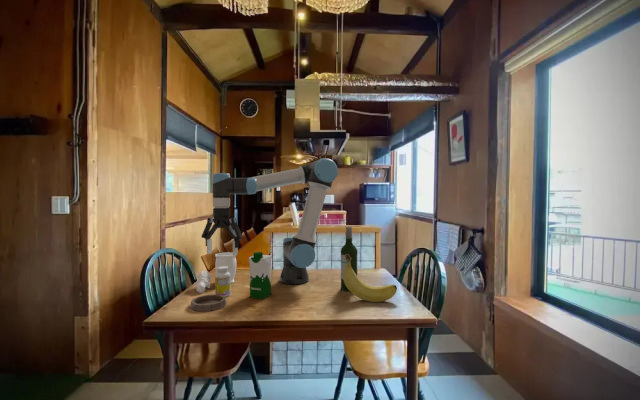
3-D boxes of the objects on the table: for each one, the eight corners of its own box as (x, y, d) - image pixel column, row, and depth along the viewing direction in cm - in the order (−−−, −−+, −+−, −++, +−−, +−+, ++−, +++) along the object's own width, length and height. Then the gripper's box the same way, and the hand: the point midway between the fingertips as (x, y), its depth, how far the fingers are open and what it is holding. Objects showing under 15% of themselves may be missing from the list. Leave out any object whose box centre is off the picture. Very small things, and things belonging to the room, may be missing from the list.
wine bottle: (360, 289, 155) (360, 226, 154) (350, 292, 149) (350, 228, 148) (347, 285, 160) (347, 225, 159) (337, 289, 154) (337, 226, 154)
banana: (396, 299, 139) (396, 253, 138) (397, 304, 133) (397, 256, 133) (343, 297, 142) (343, 252, 142) (342, 302, 136) (342, 255, 136)
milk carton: (247, 298, 142) (246, 253, 142) (257, 292, 151) (256, 249, 151) (264, 300, 140) (264, 254, 139) (274, 293, 148) (273, 250, 148)
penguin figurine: (211, 269, 160) (206, 277, 148) (212, 285, 161) (207, 295, 149) (198, 269, 159) (192, 278, 148) (198, 286, 160) (192, 296, 149)
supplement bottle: (217, 293, 150) (216, 265, 149) (231, 292, 150) (231, 265, 150) (213, 298, 143) (213, 269, 143) (229, 297, 143) (228, 268, 143)
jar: (239, 280, 173) (239, 252, 172) (232, 285, 162) (231, 255, 162) (220, 279, 174) (220, 251, 173) (212, 285, 163) (211, 255, 163)
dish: (233, 301, 138) (233, 295, 138) (212, 313, 125) (212, 306, 125) (205, 298, 142) (205, 293, 142) (183, 309, 129) (182, 303, 129)
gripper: (250, 207, 146) (250, 254, 146) (203, 206, 153) (204, 251, 154) (241, 208, 139) (241, 257, 139) (193, 207, 146) (193, 254, 147)
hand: (222, 254), depth 146 cm, fingers open, 13 cm apart
